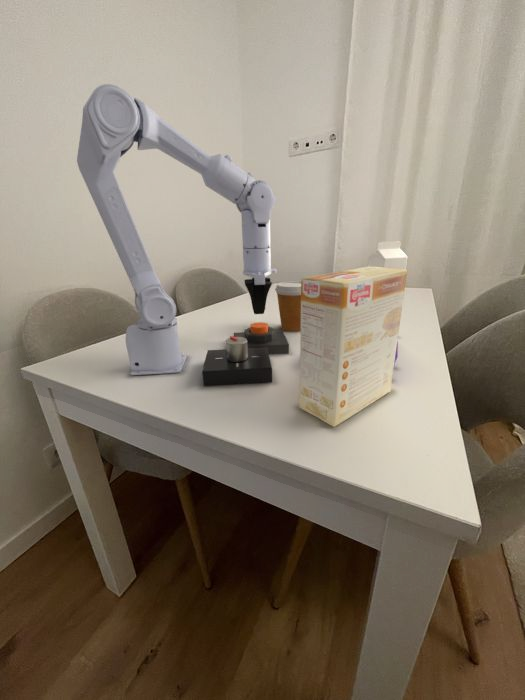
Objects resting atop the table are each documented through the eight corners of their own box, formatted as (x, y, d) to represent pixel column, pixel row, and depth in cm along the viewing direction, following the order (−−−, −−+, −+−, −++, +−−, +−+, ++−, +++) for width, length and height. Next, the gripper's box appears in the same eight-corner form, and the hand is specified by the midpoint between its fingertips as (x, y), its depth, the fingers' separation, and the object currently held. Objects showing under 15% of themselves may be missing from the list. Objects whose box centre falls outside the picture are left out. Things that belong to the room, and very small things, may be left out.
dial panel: (203, 386, 53) (202, 370, 52) (209, 363, 62) (207, 349, 61) (272, 382, 53) (272, 366, 52) (267, 360, 63) (266, 346, 62)
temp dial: (252, 358, 56) (251, 339, 55) (233, 364, 54) (231, 344, 53) (241, 352, 59) (240, 333, 58) (222, 357, 57) (221, 338, 56)
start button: (250, 335, 67) (250, 327, 66) (250, 329, 70) (249, 322, 70) (268, 334, 67) (268, 327, 66) (267, 329, 71) (267, 321, 70)
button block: (233, 356, 65) (232, 339, 64) (234, 341, 74) (233, 325, 73) (288, 353, 66) (288, 336, 64) (282, 338, 75) (282, 323, 74)
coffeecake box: (355, 377, 55) (365, 265, 47) (392, 391, 49) (410, 269, 42) (296, 407, 46) (298, 276, 39) (334, 429, 41) (345, 282, 33)
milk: (396, 337, 74) (411, 241, 65) (374, 340, 72) (387, 242, 64) (380, 330, 79) (392, 240, 71) (360, 332, 78) (370, 241, 69)
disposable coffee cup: (304, 335, 77) (305, 288, 72) (270, 331, 81) (269, 286, 76) (314, 325, 85) (316, 281, 80) (283, 321, 89) (283, 280, 84)
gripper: (280, 249, 56) (280, 320, 61) (272, 245, 69) (273, 304, 74) (242, 250, 55) (245, 322, 60) (241, 246, 69) (244, 305, 74)
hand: (258, 312), depth 67 cm, fingers closed
